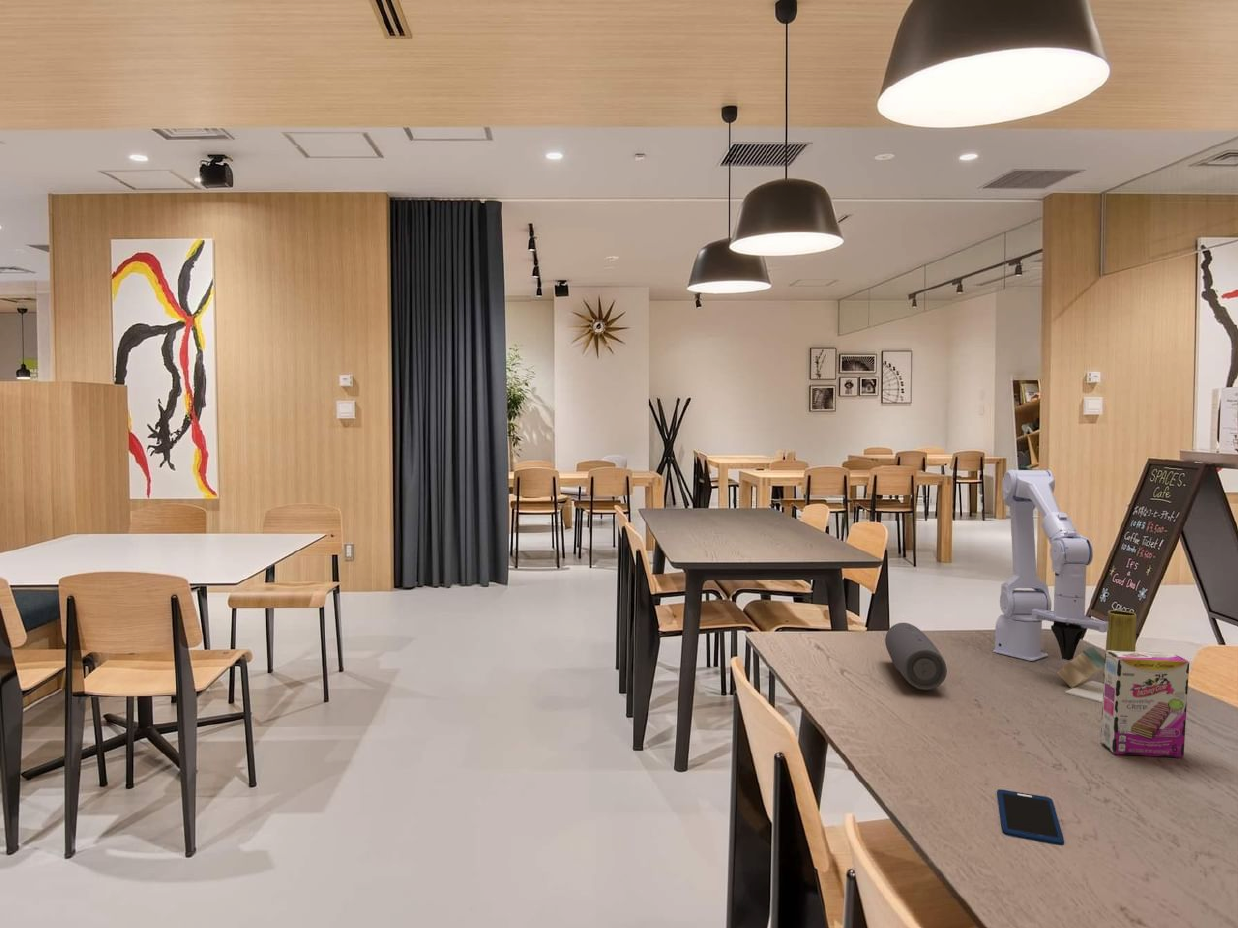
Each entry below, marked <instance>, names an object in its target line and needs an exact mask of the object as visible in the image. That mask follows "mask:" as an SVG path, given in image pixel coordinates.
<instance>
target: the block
mask: <svg viewBox="0 0 1238 928" xmlns="http://www.w3.org/2000/svg"><path fill="white" fill-rule="evenodd" d="M1104 666H1105V656H1103V655H1102V654H1101V653H1100V652H1099V651H1098V650H1097V649H1096V648H1095V647H1094V646H1092V647H1089V648H1087V649H1084V650H1083V651H1082V652H1080V653H1079V654H1078V655H1077V656H1076V657H1075V656H1074V657H1073V659H1072V660H1069V662H1068V663H1066V664H1065V666H1063V667H1062V668H1060V669H1058V671H1057V672H1056V673H1057V674H1058V676H1059V677H1061V679H1062V680H1063V681H1064V682H1065V683H1066V685H1068V686H1069V689H1072V688H1075V687H1077V686H1080V685H1082V684H1085V683H1086V681H1087V680H1089V679H1090V678H1091V677H1093V676H1095V674H1096V673H1098V672H1099V671H1101V670H1102V669H1104Z"/></svg>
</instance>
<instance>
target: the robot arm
mask: <svg viewBox="0 0 1238 928" xmlns="http://www.w3.org/2000/svg"><path fill="white" fill-rule="evenodd" d="M1002 477H1003V478H1002V481H1001V486H1002V487H1001V489H1002V499H1003V505H1005V506H1007V507H1009V512H1010V513H1009V514H1010V515H1009V517H1010V534H1011V535H1010V536H1011V555H1012V556H1011V557H1012V576H1011V577H1009V578H1008V579H1007V580H1006V581H1004V582H1003V583H1002V584H1001V587H1000V588H1001V589H1000V590H1001V591H1000V597H999V607H1000V610H1001V612H1002V613H1003V614H1000V615H999V616H998V618H997V619H996V623H995V629H994V630H995V631H994V633H995V634H994V635H995V636H994V649H993V650H992V652H993V653H997V654H1001V655H1005V656H1009V657H1013V658H1017V659H1021V660H1025V661H1029V662H1034V661H1036V660H1040V659H1042V658H1046V657H1048V656H1049V653H1046V652H1043V651H1042V631H1043V630H1042V627H1043V626H1042V625H1043V624H1042V623H1043V621H1047V622H1052V623H1053V624H1052V625H1050V630H1051V631H1052V633H1053V634H1054V637H1055V639H1056V640H1057V644H1058V647H1059V650H1060V655H1061V659H1062V660H1066V661H1072V660H1073V659H1074V658H1075V653H1076V649H1077V647H1078V644H1079V643H1080V640H1081V639H1082V637H1083V636H1084V634H1085V632H1086V631H1087V629H1088V630H1093V631H1098V632H1100V633H1107V631H1108V621H1105V620H1101V619H1098V618H1093V617H1089V616H1086V594H1087V591H1086V590H1087V566H1089V565H1091V563H1092V561H1093V558H1094V548H1093V545H1092V543H1091V540H1090V538H1088V537H1086V536H1085V537H1084V535H1081V534H1079V532H1078V530H1077V529H1076V527H1075V525H1074V523H1073V521H1072V520H1071V518H1070V516H1069V515H1068V514H1067V513H1065V512H1062V511H1061V510H1060V506H1059V505H1058V503H1057V499H1056V497H1055V488H1056V479H1055V476H1054V474H1053V472H1052V471H1051V470H1050V469H1043V470H1042V469H1040V470H1039V469H1038V470H1037V469H1032V470H1031V469H1011V468H1010V469H1007V470H1006V472H1005V473H1004V475H1003V476H1002ZM1035 509H1037V510H1038V512H1039V513H1040V515H1041V516H1042V520H1041V524H1040V525H1041V528H1042V530H1043V531H1044V534H1045V536H1046V538H1047V539H1048V541H1049V544H1050V548H1049V554H1050V560H1051V565H1052V566H1051V569H1052V572H1054V586H1053V587H1054V591H1053V592H1054V595H1053V596H1054V597H1053V610H1052V599H1051V596H1050V593H1049V586H1048V585H1047V584H1046V583H1045V582H1044V581H1043V580H1041V579H1040V578H1038V577H1037V562H1036V561H1037V560H1036V542H1035V541H1036V540H1035V539H1036V538H1035V525H1034V524H1035V523H1034V510H1035ZM1019 589H1020V590H1019ZM1023 589H1024V590H1023ZM1025 589H1026V590H1025ZM1029 589H1030V590H1029ZM1032 589H1033V590H1032Z"/></svg>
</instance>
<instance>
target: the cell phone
mask: <svg viewBox="0 0 1238 928" xmlns="http://www.w3.org/2000/svg"><path fill="white" fill-rule="evenodd" d="M996 796H997V797H996V798H997V804H998V810H999V811H998V812H999V819H1000V826H1001V832H1002V833H1003V834H1004V835H1006V836H1008V837H1014V838H1019V839H1024V840H1030V841H1036V842H1041V843H1047V844H1052V845H1059V846H1063V845H1064V844H1065V839H1064V836H1063V832H1062V828H1061V825H1060V821H1059V818H1058V813H1057V810H1056V807H1055V804H1054V801H1053V799H1052V798H1050V797H1049V796H1044V795H1037V794H1033V793H1032V794H1031V793H1026V792H1018V791H1015V790H1014V791H1012V790H1008V789H997V791H996Z"/></svg>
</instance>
